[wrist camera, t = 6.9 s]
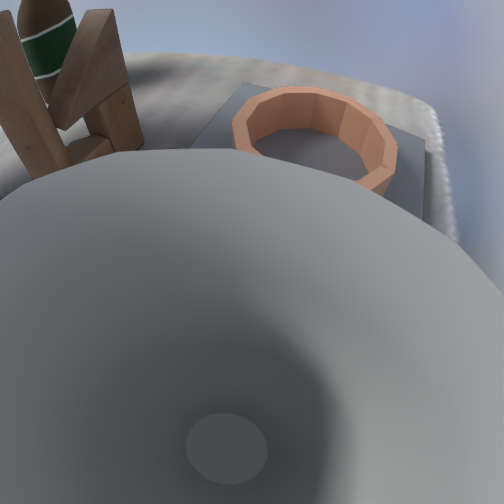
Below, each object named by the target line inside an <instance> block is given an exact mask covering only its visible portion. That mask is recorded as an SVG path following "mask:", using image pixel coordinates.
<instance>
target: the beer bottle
mask: <svg viewBox="0 0 504 504" xmlns="http://www.w3.org/2000/svg"><path fill="white" fill-rule="evenodd" d="M17 28H18V33H19V37H20V41H21V43H22V46H23V49H24V52H25V54H26V57H27V60H28V62H29V65H30V68H31V70H32V73H33V75H34V78H35V80H36V83H37V85H38V87H39V90H40V92H41V94H42V96H43V98H44V100H45V102H46V103H47V104H49V102H50V99H51V96H52V93H53V90H54V87H55V84H56V81H57V78H58V75H59V73H60V70H61V67H62V65H63V62H64V59H65V57H66V54H67V52H68V49H69V47H70V45H71V42H72V40H73V38H74V35H75V33H76V31H77V28H76V24H75V20H74V16H73V13H72V10H71V7H70V4H69V2H68V1H67V0H22V1H21V5H20V7H19V11H18V16H17Z"/></svg>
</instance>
